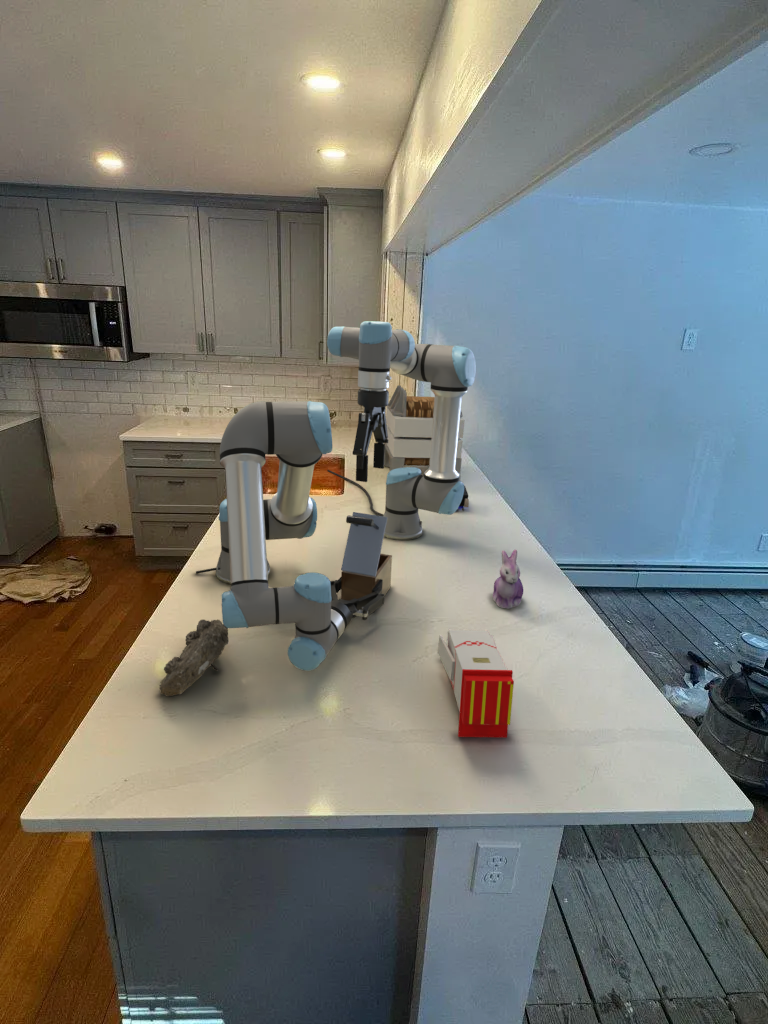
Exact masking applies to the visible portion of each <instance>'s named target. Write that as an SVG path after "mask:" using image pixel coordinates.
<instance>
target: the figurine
mask: <svg viewBox="0 0 768 1024" xmlns="http://www.w3.org/2000/svg"><path fill="white" fill-rule="evenodd" d="M517 557H518V549H516V548H515V549H514V550H513V551H512V552H511V554H510V556H509V555H508V553H507V552H506V551H505V550H504V549H503V550H501V566H500V569H499V577H497V578H496V579H495V580H494V583H493V591H492V600H493V601H494V603H495V604H496V606H497V607H499V608H504V609H512V608H515V607H518V606H519V605H520V604H521V602H522V599H523V596H524V585H523V582H522V580H521V579H520V576H521V570H520V567H519V565H518V563H517V559H518V558H517Z"/></svg>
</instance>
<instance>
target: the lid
mask: <svg viewBox="0 0 768 1024" xmlns="http://www.w3.org/2000/svg"><path fill="white" fill-rule="evenodd" d="M345 522H346V523H347V524H350V525H349V530H348V533H347V540H346V543H345V548H344V554H343V558H342V563H341V566H340V567H341V568H340V571H341V572H342V571H347V572H353V573H358V574H364V575H369V576H375V577H376V573H377V568H378V563H379V558H380V554H382V548H383V542H384V539H385V537H384V533H385V528H386V523H387V517H384V516H379V515H377V514H369V513H365V512H364V513H363V512H356V511H353V512H352V514H351V515H347V516H346V519H345Z"/></svg>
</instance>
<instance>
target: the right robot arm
mask: <svg viewBox="0 0 768 1024" xmlns="http://www.w3.org/2000/svg"><path fill="white" fill-rule="evenodd" d="M392 327H393V326H392V324H391V323H390V322H388V321H375V320H374V321H372V320H364V321H362V322H361V323H360V325H359V327H356V326H355V327H353V326H345V325H343V326H334V327H332V328H331V329H330V330H329V332H328V334H327V340H326V345H327V350H328V352H329V353H330V355H332V356H335V357H340V358H350V359H354V360H358V370H357V387H358V388H359V389H358V390H357V405H359V406H360V407H363V412H359V413H358V419H357V426H356V427H357V428H356V432H355V438H354V444H353V450H352V455H353V456H356V460H355V481H354V480H352V479H350V478H348V477H346V476H343V475H341V474H339V473H336V472H334V471H333V470H330V469H327V470H326V472H328V473H330V474H331V475H334V476H336V477H338V478H341V479H342V480H345V481H347V482H350V483H351V484H353V485H354V486H356V487H358V488H360V489H361V490H362V491H363V492H364V493H365V495H366V496H367V499H368V501H369V505H370V506H369V509H370V511H371V512H372V513H373V514H374V515H377V516H384V517H387V523H386V528H385V533H384V538H387V539H389V540H395V541H410V540H415V539H418V538H420V537H421V536H422V535H423V525H422V524H423V522H422V520H421V518H420V515H419V510H421V511H427V512H430V513H431V512H432V513H436V514H439V515H446V516H447V515H448V516H450V515H453V514H454V513H456V512H457V511H458V509H459V508H458V507H459V505H460V503H461V501H462V498H463V494H464V486H465V483H464V482H462V480H460V481H459V474H458V472H457V471H456V470H455V466H456V455H457V444H458V433H459V423H460V412H462V401H463V400H462V399H463V396H464V395H466V394H467V393H468V388H469V387H472V386H473V384H474V383H475V379H476V375H477V373H476V372H477V363H476V358H475V355H474V352H473V350H472V349H471V348H469V347H466V346H461V345H451V344H450V345H449V344H432V343H416V342H415V339H414V336H413V334H412V333H410V332H409V331H407V330H405V329H400V328H399V329H398V328H397V329H393V328H392ZM390 371H393V372H394V373H395V374H397V375H400V376H404V377H407V378H409V379H412V380H415V381H419V382H423V383H430V391H431V392H432V393H433V394H434V397H435V399H434V412H433V425H432V438H431V451H430V464H429V465H428V468H427V469H426V470H424V472H423V474H422V470H421V468H419V467H415V466H411V467H410V466H406V467H405V466H404V468H397V469H393V470H391V471H390V470H389V471H388V473H387V475H386V480H385V504H384V505H385V507H384V508H385V509H384V513H381V512H378V511H376V510H375V509H374V505H373V501H372V498H371V495H370V493H369V491H367V490H366V489H365V488H364V487H363V486H362V485H360V484H359V483H358V482H361V483H362V482H363V483H367V482H368V476H369V475H368V474H369V473H368V472H369V454H368V452H369V447H370V443H371V439H372V435H373V438H374V441H375V442H374V443H373V464H372V465H373V466H372V468H375V469H384V468H385V466H384V453H385V444H384V443H388V441H389V440H388V439H387V438H388V433H387V423H386V412H387V405H388V403H389V401H390V400H389V399H390V398H389V397H390V391H389V390H388V389H389V388H390V381H391V380H392V376H391V375H390V373H391V372H390ZM456 510H457V511H456Z"/></svg>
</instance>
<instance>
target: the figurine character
mask: <svg viewBox="0 0 768 1024" xmlns="http://www.w3.org/2000/svg"><path fill="white" fill-rule="evenodd" d="M469 505H470V500H469V492H468V490H467V488H466V485H464V494H463V498H462V501H461V503H460V505H459V507H458V509H461V511H462V512H464V511H465V508H469ZM458 509H457V510H456V511H455V512H457V511H458Z"/></svg>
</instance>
